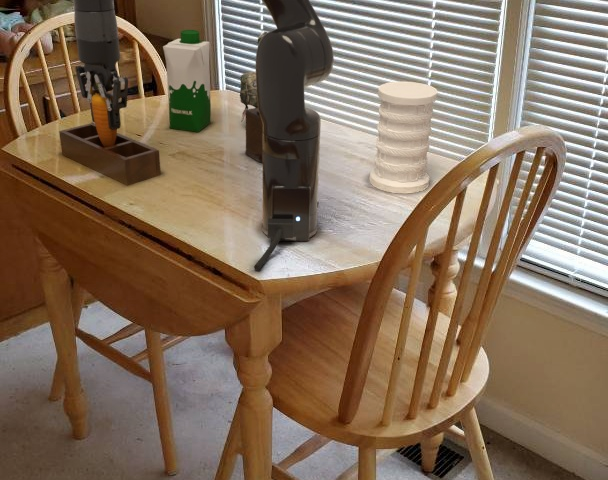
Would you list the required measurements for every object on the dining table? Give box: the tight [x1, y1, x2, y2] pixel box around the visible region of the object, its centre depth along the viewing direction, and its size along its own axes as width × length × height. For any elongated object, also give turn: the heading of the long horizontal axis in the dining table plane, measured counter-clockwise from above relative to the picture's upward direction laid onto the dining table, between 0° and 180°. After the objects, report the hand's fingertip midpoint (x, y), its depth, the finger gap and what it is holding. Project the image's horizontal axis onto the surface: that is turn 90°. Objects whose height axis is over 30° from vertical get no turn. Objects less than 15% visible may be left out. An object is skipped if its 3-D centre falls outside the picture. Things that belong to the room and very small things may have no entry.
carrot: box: [91, 81, 118, 148], centre depth 156 cm, size 5×5×15 cm
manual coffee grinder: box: [244, 107, 263, 164], centre depth 161 cm, size 16×11×18 cm
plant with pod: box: [239, 31, 268, 123], centre depth 179 cm, size 8×11×20 cm
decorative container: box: [369, 81, 438, 194], centre depth 153 cm, size 12×12×18 cm
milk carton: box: [162, 29, 212, 133], centre depth 177 cm, size 9×9×20 cm
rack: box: [58, 122, 162, 186], centre depth 160 cm, size 8×22×5 cm, turn 47°
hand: (106, 124), depth 157 cm, fingers closed on carrot, 5 cm apart
